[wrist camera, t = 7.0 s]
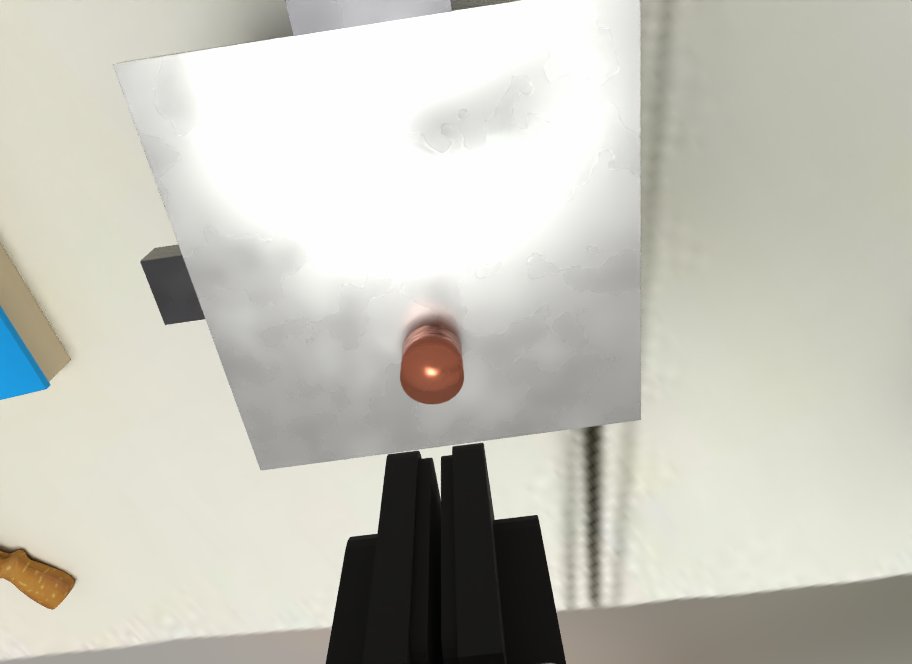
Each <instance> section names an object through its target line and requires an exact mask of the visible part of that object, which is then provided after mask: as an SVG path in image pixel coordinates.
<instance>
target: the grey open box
mask: <svg viewBox="0 0 912 664" xmlns="http://www.w3.org/2000/svg"><path fill="white" fill-rule="evenodd" d="M140 262H141V265H142V267H143V270H144V272H145V275H146V277H147V280H148V283H149V285H150V288H151V290H152V293H153V295H154V298H155V300H156V303H157V306H158V308H159V311H160V313H161V316H162V318H163V321H164V323H165V325H167V324H174V323H181V322H188V321H195V320H202V319H205V316H204V313H203V310H202V308H201V305H200V302H199V300H198V297H197V294H196V291H195V289H194V286H193V283H192V280H191V278H190V275H189V272H188V269H187V267H186V264H185V261H184V258H183V256H182V253H181V250H180V247H179V245H173V246H166V247H159V248H154V249H153V250H152V251H151V252H150V253H149V254H148V255H147V256H145V257H144V258H143V259H142V260H141V261H140Z"/></svg>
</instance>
